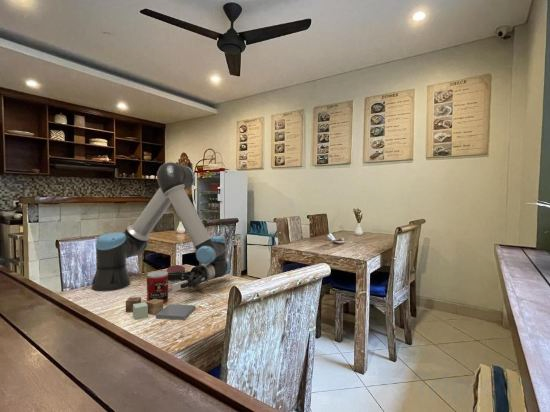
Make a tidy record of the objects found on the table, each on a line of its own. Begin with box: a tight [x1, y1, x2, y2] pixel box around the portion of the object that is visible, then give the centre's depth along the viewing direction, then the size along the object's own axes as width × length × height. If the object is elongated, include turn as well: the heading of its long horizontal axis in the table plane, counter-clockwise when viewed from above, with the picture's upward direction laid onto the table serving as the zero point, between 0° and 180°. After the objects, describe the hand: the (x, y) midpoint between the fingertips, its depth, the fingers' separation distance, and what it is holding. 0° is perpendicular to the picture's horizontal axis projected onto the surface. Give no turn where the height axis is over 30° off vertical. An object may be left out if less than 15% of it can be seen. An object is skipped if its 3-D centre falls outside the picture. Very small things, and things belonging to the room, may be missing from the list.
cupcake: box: [166, 256, 186, 282], centre depth 146 cm, size 9×8×12 cm
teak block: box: [145, 299, 164, 316], centre depth 105 cm, size 4×4×4 cm
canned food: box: [146, 270, 169, 305], centre depth 115 cm, size 8×8×11 cm
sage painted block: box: [132, 301, 149, 321], centre depth 101 cm, size 4×4×4 cm
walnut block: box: [125, 296, 142, 313], centre depth 107 cm, size 4×4×4 cm
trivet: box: [155, 303, 196, 321], centre depth 104 cm, size 10×10×1 cm
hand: (161, 285), depth 116 cm, fingers open, 13 cm apart
